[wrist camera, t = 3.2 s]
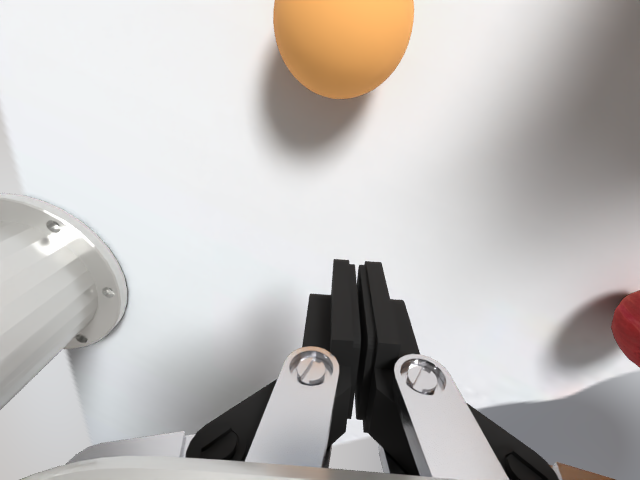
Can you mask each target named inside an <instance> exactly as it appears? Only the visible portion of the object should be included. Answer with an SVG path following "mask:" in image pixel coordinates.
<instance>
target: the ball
mask: <svg viewBox="0 0 640 480" xmlns="http://www.w3.org/2000/svg"><path fill="white" fill-rule="evenodd" d="M413 18H414V2H413V0H275V3H274V16H273V23H274V32H275V37H276V42H277V46H278V49H279V52H280V54H281V56H282V58H283V61H284V63H285V64H286V66H287V67H288V69H289V71H290V72H291V73H292V75H293V76H294V77H295V78H296V79H297V80H298V81H299V82H300V83H301V84H302V85H303V86H305V87H306V88H307V89H309V90H310V91H312V92H314V93H316V94H318V95H321V96H324V97H328V98H332V99H349V98H354V97H358V96H361V95H363V94H366V93H368V92H370V91H371V90H373V89H375V88H376V87H378V86H379V85H380V84H382V83H383V82H384V81H385V80H386V79H387V78H388V77H389V76H390V75H391V74H392V72H393V71H394V70H395V69H396V67H397V66H398V64H399V63H400V61H401V59H402V57H403V55H404V53H405V51H406V48H407V46H408V43H409V40H410V36H411V32H412V26H413Z"/></svg>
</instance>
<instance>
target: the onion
mask: <svg viewBox="0 0 640 480" xmlns="http://www.w3.org/2000/svg"><path fill="white" fill-rule="evenodd" d="M611 329H612V332H613V335H614V338H615V340H616V342H617V344H618V346H619V347H620V349H621V350H622V351H623V353H624V354H625V355H626V356H627V358H628V359H629V360H631V361H632V362H633V363H635V364H636V365H637V366H638V367H640V290H639V291H637V292H634V293H631V294H629V295H627V296H626V297H625V298H623V299H622V301H621V302H620V304H619V305H618V306H617V308H616V309H615V312H614V316H613V321H612V325H611Z"/></svg>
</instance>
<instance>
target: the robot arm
mask: <svg viewBox="0 0 640 480" xmlns="http://www.w3.org/2000/svg"><path fill="white" fill-rule="evenodd" d="M126 304H127V287H126V282H125V278H124V275H123V272H122V270H121V268H120V265H119V263H118V261H117V260H116V258H115V257H114V255H113V254H112V252H111V251H110V249H109V248H108V247H107V245H106V244H105V243H104V242H103V241H102V240H101V239H100V238H99V237H98V235H97V234H96V233H94V232H93V231H92V230H91V229H90V228H89V227H87V226H86V225H85V224H84V223H83V222H81V221H80V220H78V219H77V218H75V217H74V216H72V215H71V214H69V213H67V212H66V211H64V210H62V209H60V208H58V207H56V206H54V205H51V204H49V203H47V202H45V201H42V200H38V199H35V198H32V197H28V196H24V195H16V194H8V193H0V410H1V409H2V408H3V407H4V406H5V405H6V404H7V403H8V402H9V401H10V400H11V399H12V398H13V397H14V396H15V395H16V394H17V393H18V392H19V391H20V390H21V389H22V388H23V387H24V386H25V385H26V384H27V383H28V382H29V381H30V380H31V379H32V378H33V377H35V376H36V375H37V374H38V373H39V372H40V371H41V370H42V369H43V368H44V367H45V366H46V365H47V364H48V363H49V362H50V361H51V360H52V359H53V358H54V357H55V356H56V355H57V354H58V353H59V352H60V351H61V350H62V349H74V348H80V347H85V346H88V345H90V344H93V343H95V342H98V341H99V340H101V339H102V338H104V337H105V336H106V335H108V334H109V333H110V331H111V330H112V329H113V328H114V327H115V326H116V325H117V324H118V322H119V321H120V319H121V318H122V316H123V314H124V311H125V308H126ZM354 393H355V406H356V419H358V420H363V430H364V432H365V433H369V435H370V436H371V437H373V439H374V440H376V441H377V442H378V443H379V446H378V448H379V456H380V460H381V464H382V468H383V472H384V473H378V472H366V471H354V470H342V469H331V468H329V462H330V456H331V449H332V444H333V443H334V442H335V441H336V440H337V439H338V438H339V437H340V436H341V435H343V434H344V433H345V432H346V424H347V419H351V416H352V408H353V401H354ZM20 480H615V479H612V478H609V477H605V476H602V475H599V474H595V473H592V472H589V471H585V470H582V469H578V468H575V467H572V466H568V465H565V464H562V463H558V462H556V463H555V464H554V466H551V465H549V464H548V463H547V462H546V461H545V460H544V459H543V458H542V457H541V456H539V455H538V454H537V453H536V452H535V451H533V450H532V449H530V448H529V447H528V446H526V445H525V444H523V443H522V442H521V441H519V440H518V439H516V438H515V437H514V436H512V435H511V434H509V433H508V432H507V431H505V430H504V429H502V428H501V427H499V426H498V425H497V424H495V423H494V422H493V421H491V420H490V419H488V418H487V417H485V416H484V415H482V414H481V413H480V412H478V411H477V410H476V409H474V408H473V407H471V406H470V405H469V404H467V403H466V402H465V400H464V398H463V397H462V395H461V393H460V391H459V389H458V388H457V386H456V384H455V382H454V381H453V379H452V377H451V375H450V374H449V372H448V371H447V370H446V368H445V367H444V366H443V365H441V364H440V363H439V362H438V361H436V360H434V359H432V358H430V357H427V356H424V355H420V353H419V349H418V346H417V343H416V339H415V336H414V333H413V329H412V326H411V323H410V319H409V316H408V313H407V309H406V306H405V303H404V301H403V300H393V299H390V297H389V293H388V288H387V284H386V280H385V276H384V272H383V267H382V263H381V262H369V261H365V265H359V269H358V278H357V284H356V273H355V265H354V264H349V260H338V259H334V263H333V277H332V290H331V295H321V294H310V296H309V303H308V310H307V317H306V324H305V331H304V339H303V346H302V348H299V349H297V350H295V351H293V352H292V353H291V354H289V355H288V357H287V358H286V360H285V361H284V364H283V366H282V369H281V371H280V374H279V376H278V379H276V380H275V381H273V382H272V383H270V384H269V385H267V386H266V387H264V388H262V389H261V390H259V391H258V392H256V393H255V394H253V395H252V396H250V397H248V398H247V399H245V400H244V401H242V402H241V403H239V404H238V405H236V406H234V407H233V408H231V409H230V410H228V411H227V412H225V413H224V414H222V415H221V416H219V417H217V418H216V419H214V420H213V421H211V422H210V423H208V424H207V425H205V426H204V427H203V428H202V429H200V430H199V431H198V432H197V433H196V434H191V435H185V432H184V431H180V432H173V433H166V434H159V435H153V436H146V437H139V438H132V439H125V440H119V441H112V442H105V443H100V444H97V445H93V446H90V447H88V448H86V449H85V450H83V451H81V452H79V453H78V454H76V455H75V456H74V457H73V458H72V459H71V460H70V461H69V462H67V463H66V464H65V465H63V466H59V467H55V468H52V469H49V470H46V471H42V472H39V473H36V474H33V475H30V476H28V477H25V478H23V479H20Z"/></svg>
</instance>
